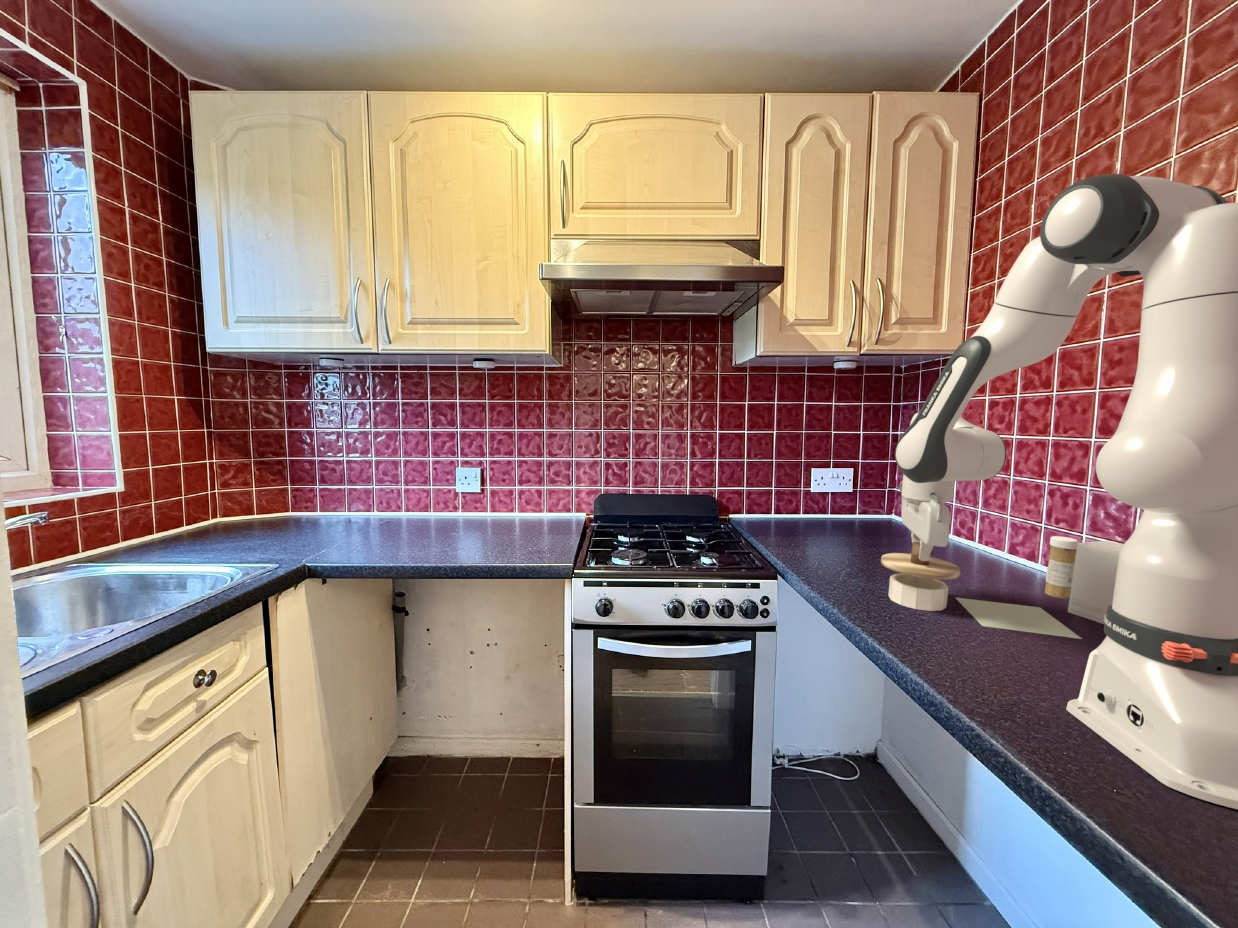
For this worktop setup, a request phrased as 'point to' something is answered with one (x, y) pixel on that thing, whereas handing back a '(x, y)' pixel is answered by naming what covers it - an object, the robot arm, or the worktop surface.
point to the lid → (920, 565)
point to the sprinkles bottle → (1060, 566)
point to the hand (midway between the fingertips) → (920, 556)
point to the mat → (1015, 617)
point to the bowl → (918, 592)
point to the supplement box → (1094, 579)
